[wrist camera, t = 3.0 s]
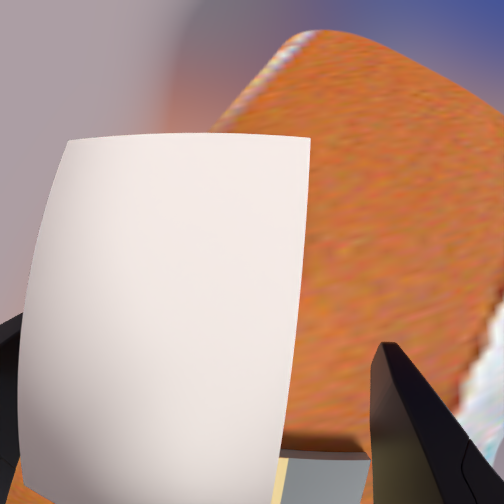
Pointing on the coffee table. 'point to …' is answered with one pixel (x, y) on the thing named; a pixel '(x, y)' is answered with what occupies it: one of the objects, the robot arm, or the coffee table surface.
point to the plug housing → (163, 319)
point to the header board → (320, 477)
